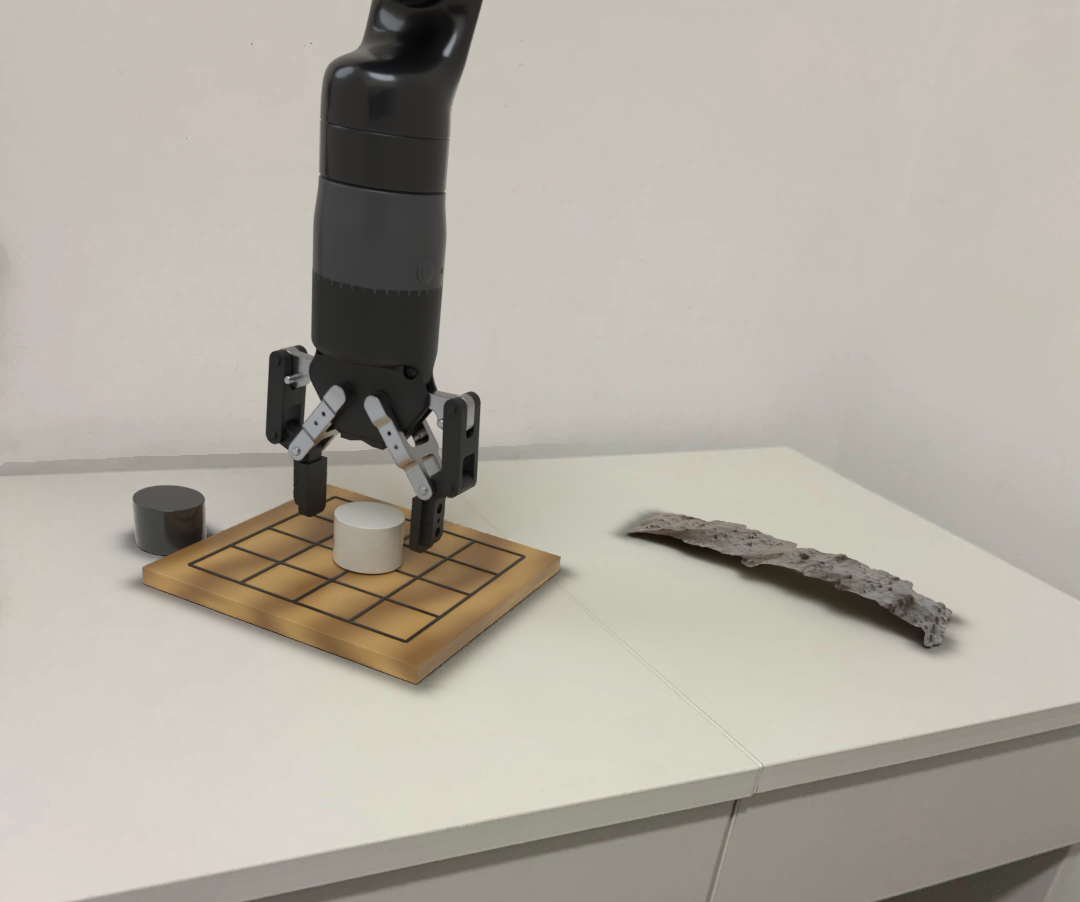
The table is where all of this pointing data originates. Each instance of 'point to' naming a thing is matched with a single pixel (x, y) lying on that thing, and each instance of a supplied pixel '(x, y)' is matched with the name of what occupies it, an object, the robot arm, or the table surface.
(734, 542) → the stone fragment
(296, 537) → the board
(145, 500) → the black stone
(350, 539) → the pale stone
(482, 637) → the table surface
